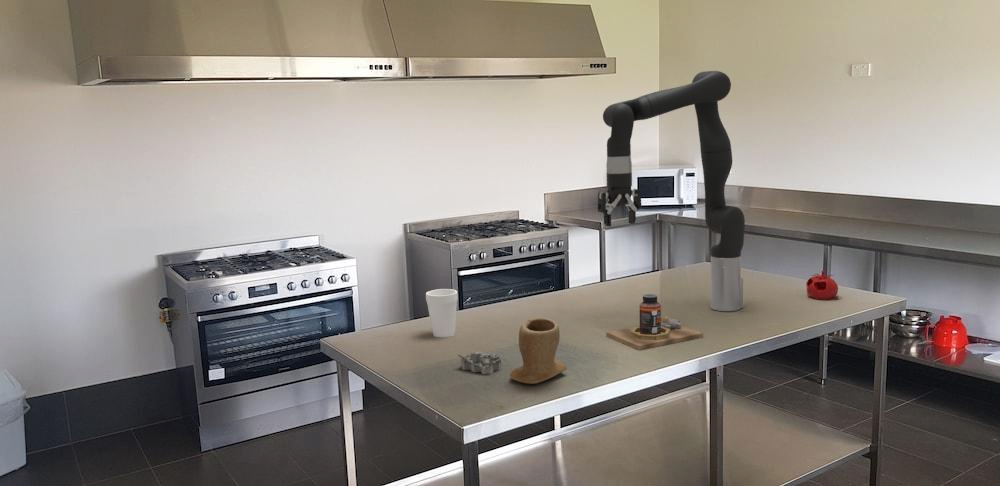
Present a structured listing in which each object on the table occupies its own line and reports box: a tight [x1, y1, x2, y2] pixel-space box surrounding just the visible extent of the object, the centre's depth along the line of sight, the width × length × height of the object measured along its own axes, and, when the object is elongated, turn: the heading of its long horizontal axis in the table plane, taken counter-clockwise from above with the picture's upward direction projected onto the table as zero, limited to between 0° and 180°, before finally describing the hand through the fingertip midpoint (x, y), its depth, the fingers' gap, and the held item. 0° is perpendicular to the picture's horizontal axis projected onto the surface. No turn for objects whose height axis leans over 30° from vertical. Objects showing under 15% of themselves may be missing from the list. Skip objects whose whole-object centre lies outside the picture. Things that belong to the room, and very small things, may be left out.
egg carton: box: [458, 350, 504, 375], centre depth 202 cm, size 11×8×4 cm
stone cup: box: [509, 317, 568, 385], centre depth 191 cm, size 15×12×15 cm
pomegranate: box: [805, 270, 839, 300], centre depth 259 cm, size 10×10×9 cm
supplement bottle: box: [639, 293, 662, 335], centre depth 220 cm, size 6×6×11 cm
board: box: [605, 316, 704, 351], centre depth 223 cm, size 22×16×4 cm
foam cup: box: [425, 288, 459, 338], centre depth 234 cm, size 10×9×13 cm
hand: (620, 224), depth 236 cm, fingers open, 8 cm apart
